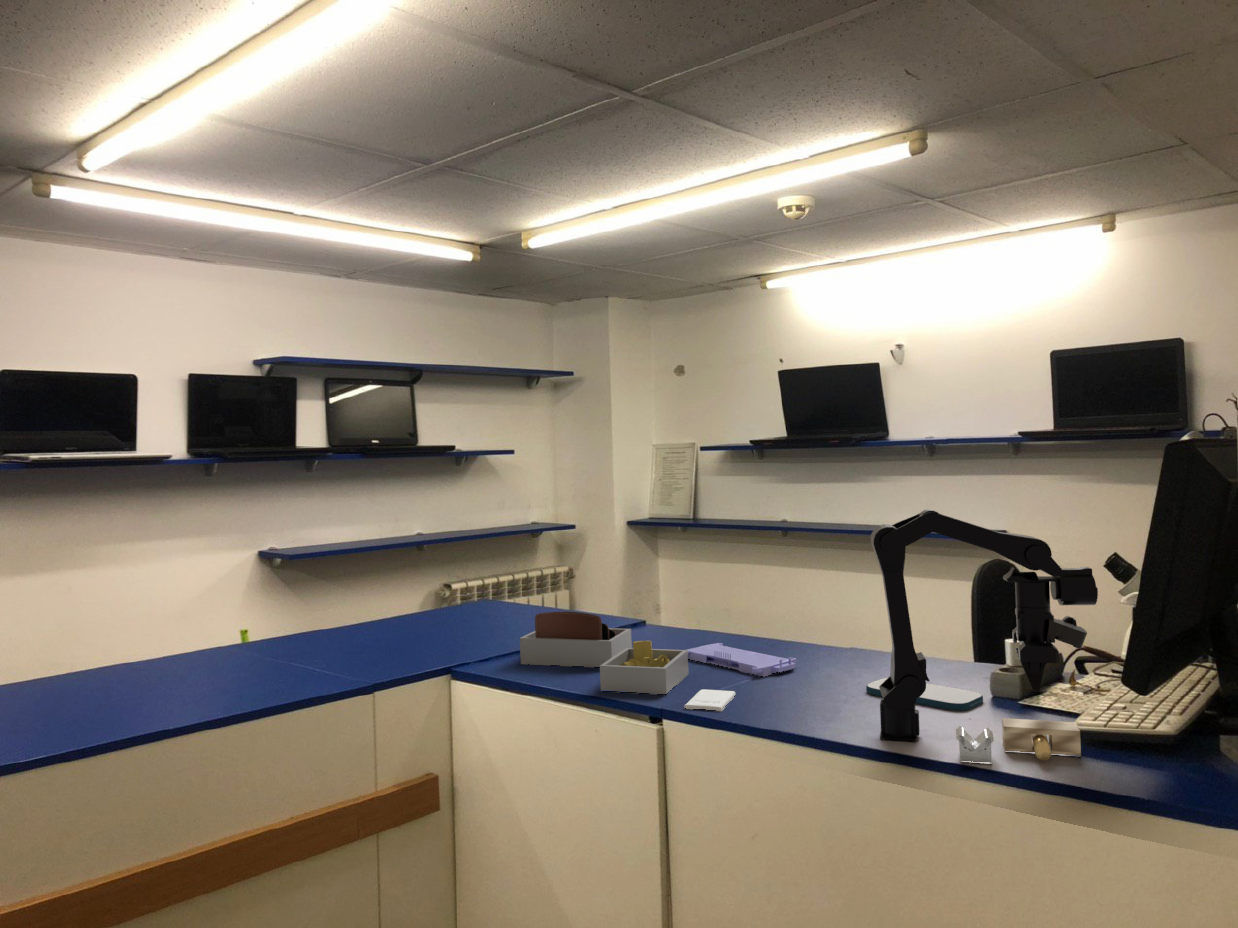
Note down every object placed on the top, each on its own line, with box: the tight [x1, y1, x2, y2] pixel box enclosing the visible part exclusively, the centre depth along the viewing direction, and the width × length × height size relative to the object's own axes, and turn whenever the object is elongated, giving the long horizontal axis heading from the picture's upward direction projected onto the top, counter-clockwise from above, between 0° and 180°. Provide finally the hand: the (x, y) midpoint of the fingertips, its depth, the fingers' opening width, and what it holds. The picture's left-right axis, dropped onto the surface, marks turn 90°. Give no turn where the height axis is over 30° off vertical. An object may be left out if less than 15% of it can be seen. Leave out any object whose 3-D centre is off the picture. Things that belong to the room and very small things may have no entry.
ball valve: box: [620, 640, 670, 667], centre depth 215 cm, size 13×10×10 cm
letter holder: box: [534, 611, 616, 640], centre depth 240 cm, size 10×20×14 cm, turn 66°
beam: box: [1001, 717, 1082, 757], centre depth 157 cm, size 12×5×5 cm, turn 70°
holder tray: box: [519, 627, 633, 668], centre depth 242 cm, size 26×16×7 cm, turn 70°
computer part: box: [686, 642, 797, 678], centre depth 229 cm, size 30×4×15 cm
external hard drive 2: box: [865, 677, 984, 712], centre depth 193 cm, size 24×12×2 cm, turn 42°
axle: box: [1032, 734, 1052, 761], centre depth 156 cm, size 2×12×2 cm, turn 158°
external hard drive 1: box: [684, 689, 737, 712], centre depth 195 cm, size 2×8×12 cm
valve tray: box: [599, 647, 689, 695], centre depth 214 cm, size 16×19×6 cm
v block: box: [955, 725, 995, 763], centre depth 154 cm, size 5×6×5 cm
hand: (1036, 690), depth 163 cm, fingers closed
